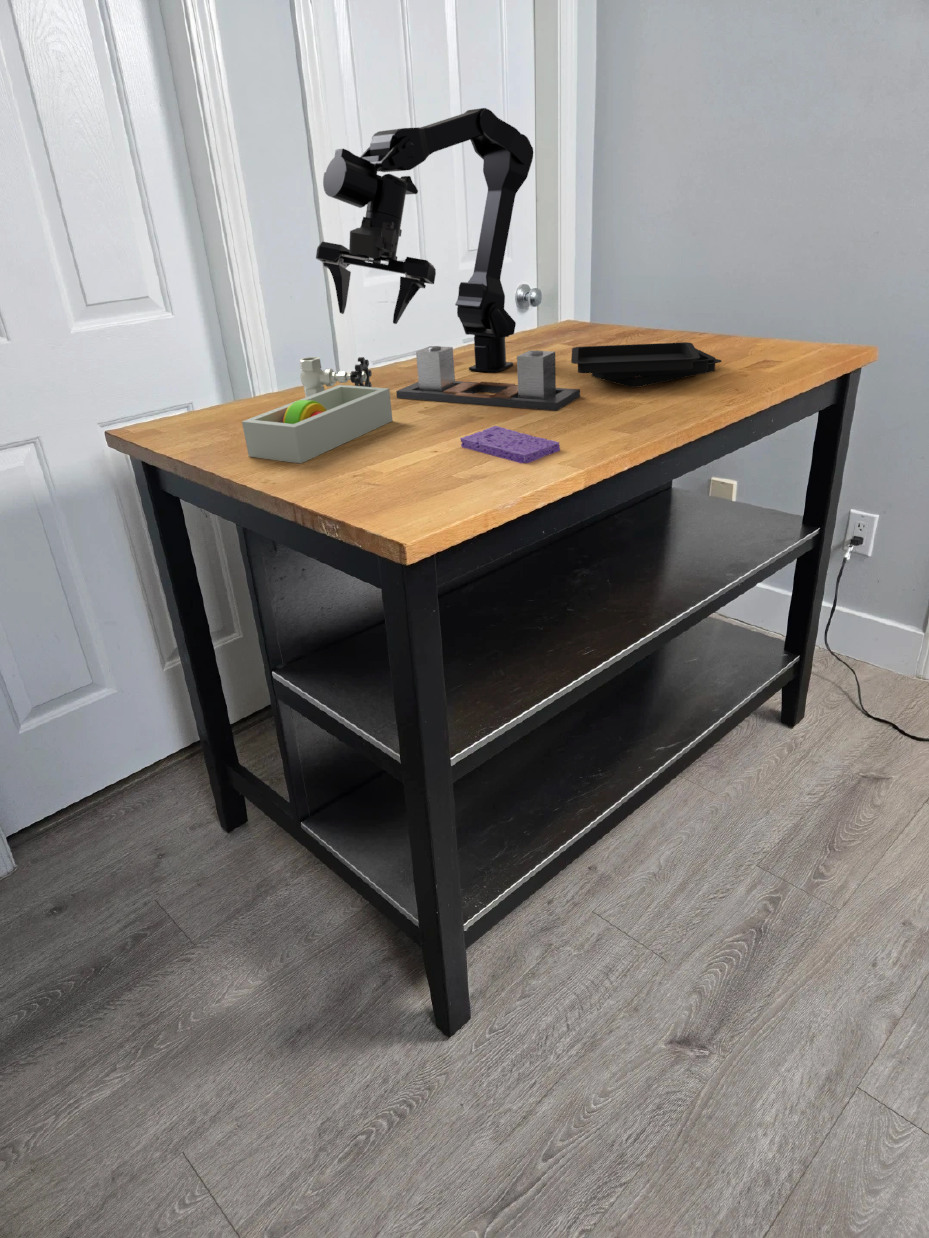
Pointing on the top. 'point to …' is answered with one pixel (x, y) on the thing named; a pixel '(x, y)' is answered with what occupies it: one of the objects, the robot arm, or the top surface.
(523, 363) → the grey metal block
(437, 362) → the knobbed block
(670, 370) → the tray
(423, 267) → the robot arm
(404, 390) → the rail
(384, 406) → the box
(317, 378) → the valve
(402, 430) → the top surface
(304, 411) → the green arched piece
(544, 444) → the sponges
